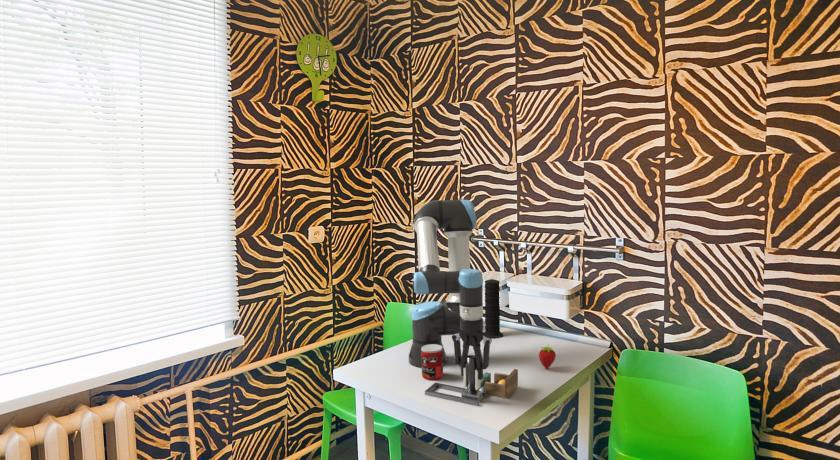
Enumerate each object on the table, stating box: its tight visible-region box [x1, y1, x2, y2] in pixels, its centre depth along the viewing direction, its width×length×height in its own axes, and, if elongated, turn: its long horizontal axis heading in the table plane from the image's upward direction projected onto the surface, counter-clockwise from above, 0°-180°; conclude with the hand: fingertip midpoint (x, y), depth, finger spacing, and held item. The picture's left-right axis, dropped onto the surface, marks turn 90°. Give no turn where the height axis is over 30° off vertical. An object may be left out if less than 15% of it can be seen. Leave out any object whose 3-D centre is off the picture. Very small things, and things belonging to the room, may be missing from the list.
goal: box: [484, 368, 519, 400], centre depth 166 cm, size 8×10×6 cm
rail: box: [424, 382, 488, 407], centre depth 164 cm, size 19×8×1 cm, turn 61°
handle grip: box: [483, 278, 504, 339], centre depth 226 cm, size 10×26×10 cm
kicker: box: [460, 354, 492, 402], centre depth 165 cm, size 6×14×14 cm, turn 151°
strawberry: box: [538, 343, 557, 370], centre depth 184 cm, size 6×8×10 cm
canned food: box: [421, 344, 444, 381], centre depth 180 cm, size 8×8×11 cm
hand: (472, 386), depth 161 cm, fingers closed on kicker, 3 cm apart
